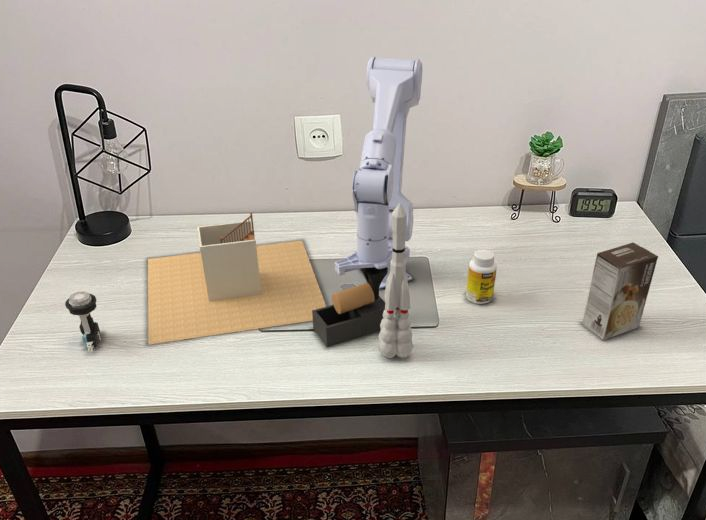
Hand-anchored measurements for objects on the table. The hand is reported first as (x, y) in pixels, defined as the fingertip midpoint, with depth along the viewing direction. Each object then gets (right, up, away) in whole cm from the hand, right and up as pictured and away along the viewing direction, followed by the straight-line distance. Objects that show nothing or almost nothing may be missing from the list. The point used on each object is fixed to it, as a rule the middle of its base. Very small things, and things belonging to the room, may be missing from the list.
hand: (372, 297), depth 133 cm
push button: (-53, -9, -1) cm, 54 cm away
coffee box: (+46, -6, +3) cm, 47 cm away
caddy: (-4, -6, +2) cm, 7 cm away
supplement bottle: (+22, +1, +11) cm, 25 cm away
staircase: (-29, +3, +14) cm, 33 cm away
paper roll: (-4, 0, -2) cm, 4 cm away
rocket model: (+4, -11, -4) cm, 12 cm away
